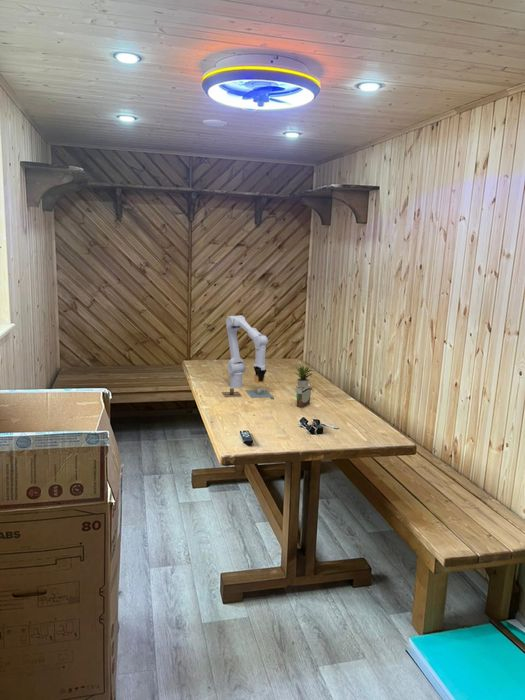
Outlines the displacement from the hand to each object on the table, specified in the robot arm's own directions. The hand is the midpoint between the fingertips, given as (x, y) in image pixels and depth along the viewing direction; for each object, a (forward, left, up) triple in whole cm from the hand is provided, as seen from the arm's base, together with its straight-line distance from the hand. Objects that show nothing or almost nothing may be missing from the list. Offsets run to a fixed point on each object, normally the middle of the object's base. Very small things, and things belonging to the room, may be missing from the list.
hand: (259, 380), depth 312 cm
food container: (+23, +18, -10) cm, 31 cm away
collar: (0, 0, -1) cm, 1 cm away
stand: (0, -16, -9) cm, 18 cm away
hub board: (0, 0, -9) cm, 9 cm away
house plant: (-11, +30, -9) cm, 33 cm away
